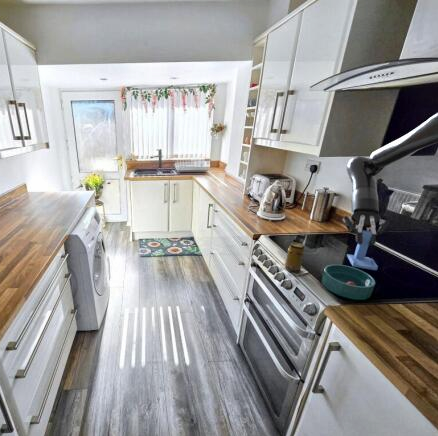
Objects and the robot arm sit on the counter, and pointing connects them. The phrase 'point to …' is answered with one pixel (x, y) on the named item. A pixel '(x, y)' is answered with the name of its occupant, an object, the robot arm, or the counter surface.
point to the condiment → (295, 259)
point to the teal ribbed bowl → (342, 274)
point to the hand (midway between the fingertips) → (365, 244)
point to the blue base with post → (363, 254)
